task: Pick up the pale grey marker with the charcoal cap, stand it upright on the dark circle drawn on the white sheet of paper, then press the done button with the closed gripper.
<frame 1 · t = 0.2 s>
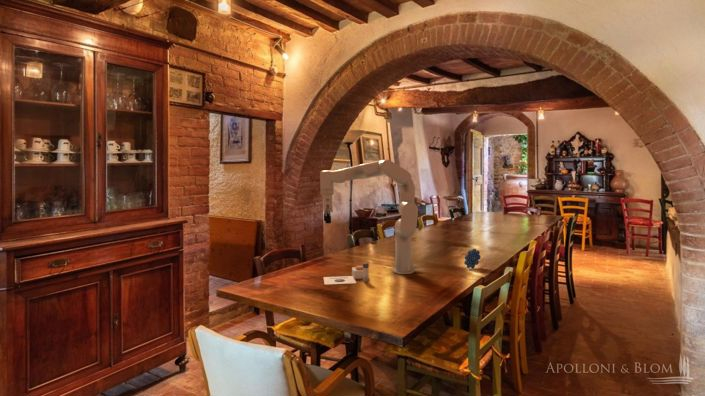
hand: (327, 222, 236), 31 cm above the table, tool pointing down, fingers open, 9 cm apart
done button: (359, 268, 234), point 4 cm above the table, slide at 0.0 cm
marker: (365, 281, 224), on the table
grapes: (471, 268, 252), on the table
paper: (339, 280, 227), on the table
button housing: (359, 276, 234), on the table
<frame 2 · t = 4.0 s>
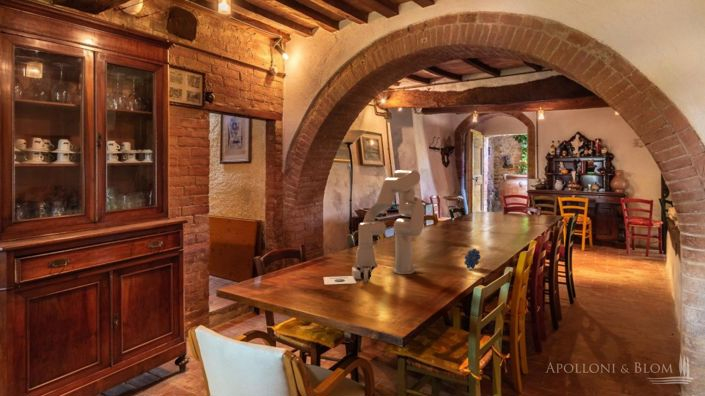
hand: (365, 278, 224), 2 cm above the table, tool pointing down, fingers closed on marker, 3 cm apart
marker: (365, 281, 224), on the table, touching gripper
everything else where it was.
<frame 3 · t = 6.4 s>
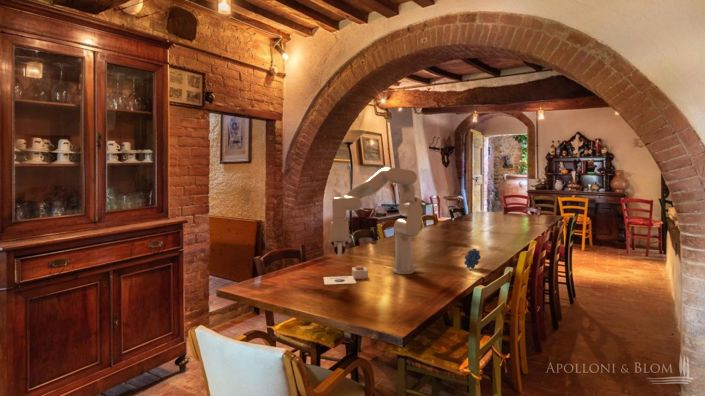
hand: (339, 253, 224), 15 cm above the table, tool pointing down, fingers closed on marker, 3 cm apart
marker: (339, 256, 224), point 14 cm above the table, touching gripper
everything else where it was.
when the fingers open (3 cm above the table, at t = 9.0 s): marker stays where it is, resting on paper.
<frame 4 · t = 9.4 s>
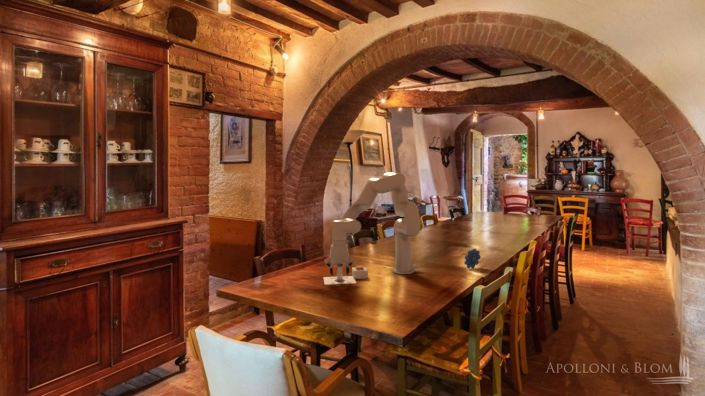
hand: (339, 274, 225), 4 cm above the table, tool pointing down, fingers open, 7 cm apart
marker: (339, 280, 226), resting on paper
everything else where it was.
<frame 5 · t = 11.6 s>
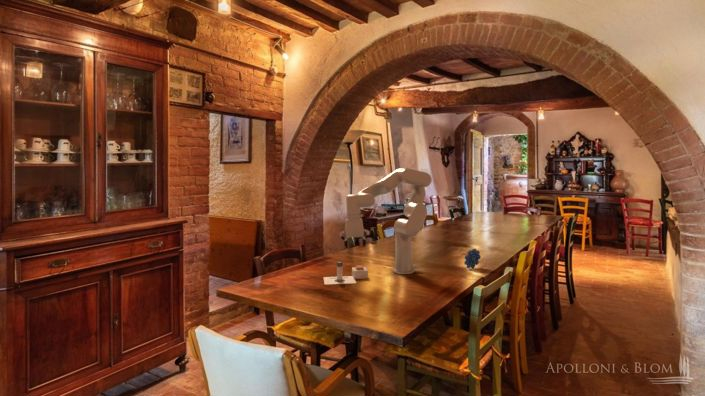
hand: (355, 247, 230), 17 cm above the table, tool pointing down, fingers open, 9 cm apart
nothing on the table moved.
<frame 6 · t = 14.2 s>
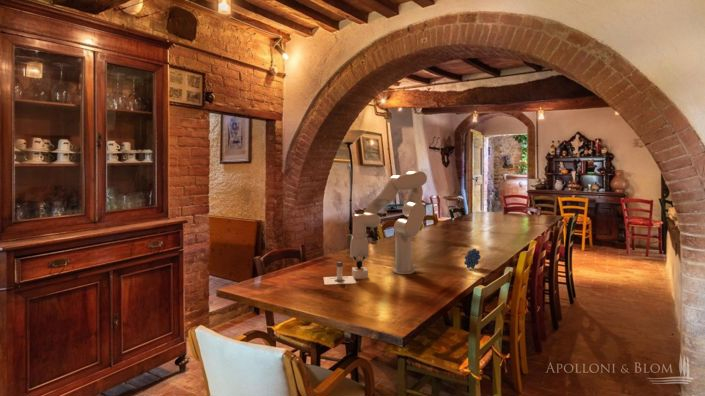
hand: (359, 268, 233), 5 cm above the table, tool pointing down, fingers closed
done button: (359, 270, 234), point 3 cm above the table, slide at 1.0 cm, touching gripper
everything else where it was.
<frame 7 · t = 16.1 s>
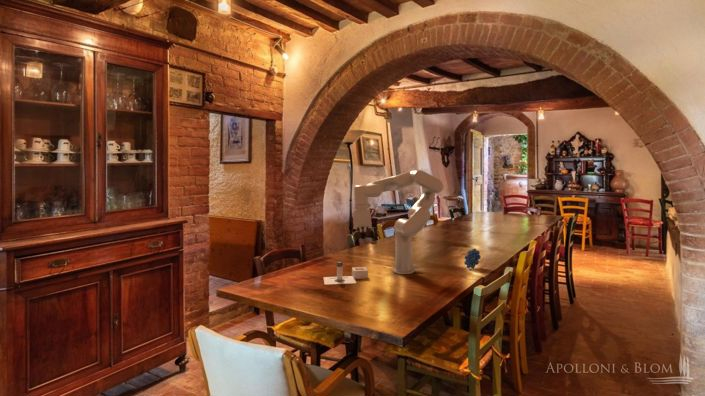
hand: (363, 238, 235), 21 cm above the table, tool pointing down, fingers closed
done button: (359, 271, 234), point 3 cm above the table, slide at 1.3 cm
everything else where it was.
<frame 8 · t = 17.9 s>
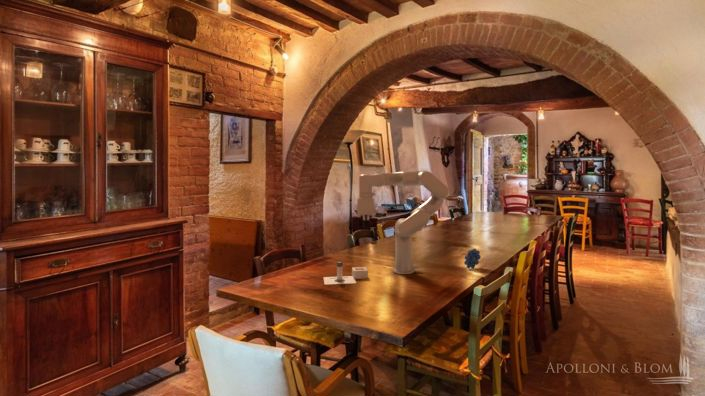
hand: (365, 226, 241), 27 cm above the table, tool pointing down, fingers closed
nothing on the table moved.
at the end: marker 0.1 cm from the target spot on the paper, point 0.4 cm above the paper's base; marker tilted 0°; done button slide at 1.3 cm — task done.
